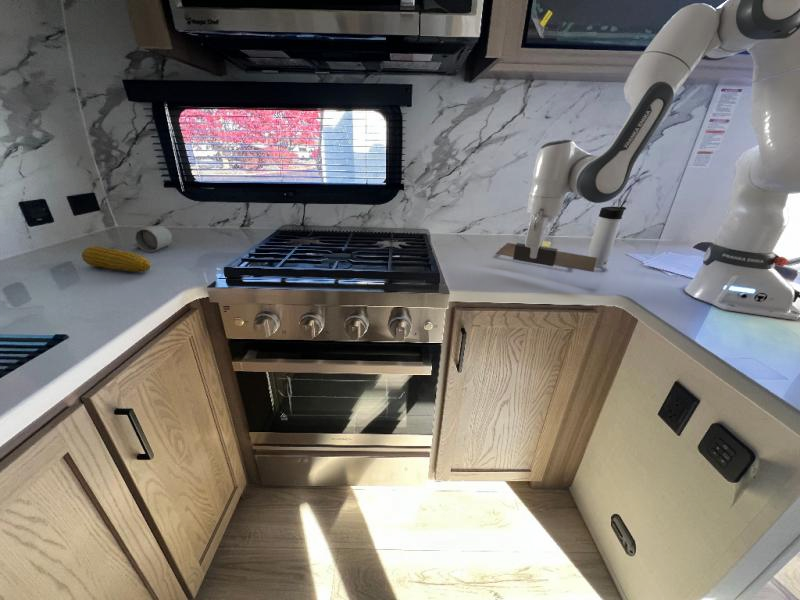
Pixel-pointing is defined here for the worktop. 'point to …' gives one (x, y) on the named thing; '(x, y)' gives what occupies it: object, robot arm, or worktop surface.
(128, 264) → the food
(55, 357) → the worktop surface
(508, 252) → the cutting board
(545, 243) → the butter block
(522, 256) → the knife
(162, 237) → the ceramic mug
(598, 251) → the travel mug
